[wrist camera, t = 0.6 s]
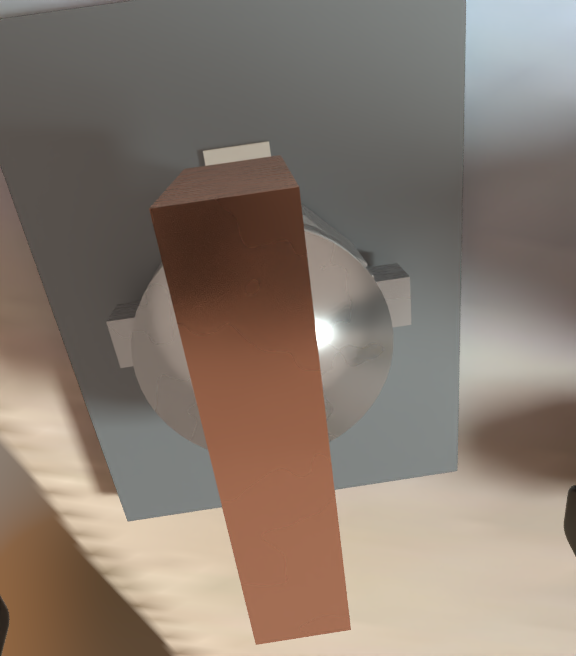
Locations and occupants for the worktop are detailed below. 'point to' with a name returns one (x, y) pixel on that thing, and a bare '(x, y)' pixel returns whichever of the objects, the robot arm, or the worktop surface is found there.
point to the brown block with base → (264, 371)
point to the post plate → (229, 146)
